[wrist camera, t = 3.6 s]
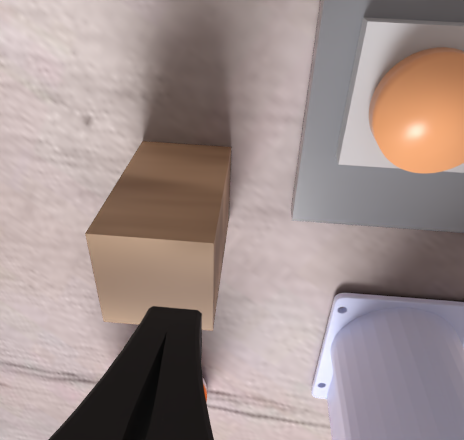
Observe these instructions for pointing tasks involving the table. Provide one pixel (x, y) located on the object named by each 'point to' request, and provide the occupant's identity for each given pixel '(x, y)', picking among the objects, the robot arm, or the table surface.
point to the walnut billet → (163, 233)
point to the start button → (421, 111)
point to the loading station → (357, 119)
